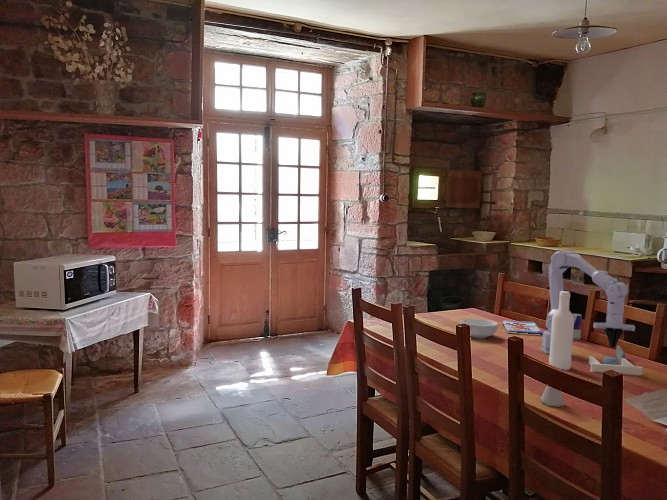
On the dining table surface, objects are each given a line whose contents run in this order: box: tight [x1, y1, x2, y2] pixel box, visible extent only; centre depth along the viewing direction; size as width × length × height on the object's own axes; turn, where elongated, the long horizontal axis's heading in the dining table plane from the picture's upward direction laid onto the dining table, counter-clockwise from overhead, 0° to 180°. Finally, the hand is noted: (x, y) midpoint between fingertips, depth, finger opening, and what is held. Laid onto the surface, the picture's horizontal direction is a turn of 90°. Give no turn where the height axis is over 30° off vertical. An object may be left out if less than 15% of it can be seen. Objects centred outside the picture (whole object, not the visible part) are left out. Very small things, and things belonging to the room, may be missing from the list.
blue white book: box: [502, 319, 544, 336], centre depth 270 cm, size 17×24×3 cm
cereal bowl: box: [460, 318, 499, 339], centre depth 253 cm, size 17×17×7 cm
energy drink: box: [572, 313, 583, 341], centre depth 252 cm, size 5×5×12 cm
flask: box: [540, 385, 566, 408], centre depth 170 cm, size 7×7×10 cm
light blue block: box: [603, 356, 619, 365], centre depth 209 cm, size 5×5×4 cm
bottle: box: [548, 290, 574, 371], centre depth 207 cm, size 8×8×30 cm
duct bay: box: [588, 355, 644, 376], centre depth 208 cm, size 18×12×3 cm, turn 80°
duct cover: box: [615, 344, 626, 364], centre depth 219 cm, size 14×1×4 cm, turn 160°
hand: (612, 347), depth 208 cm, fingers closed
